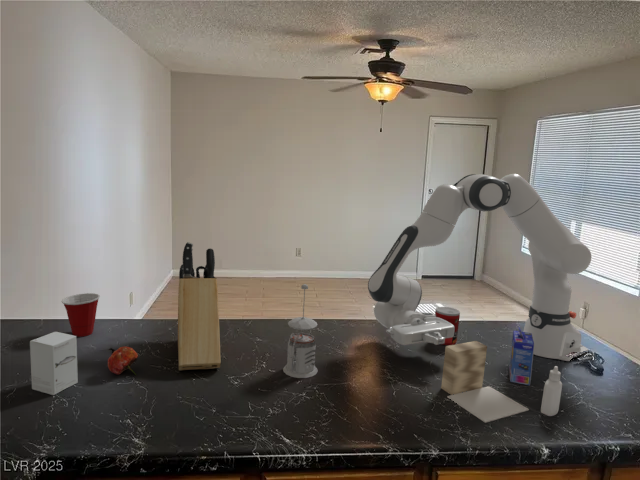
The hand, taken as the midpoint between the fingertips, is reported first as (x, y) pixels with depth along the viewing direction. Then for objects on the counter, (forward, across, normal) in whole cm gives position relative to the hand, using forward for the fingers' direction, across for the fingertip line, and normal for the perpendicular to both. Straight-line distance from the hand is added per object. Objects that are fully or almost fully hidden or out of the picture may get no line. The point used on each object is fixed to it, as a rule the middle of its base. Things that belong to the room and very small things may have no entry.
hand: (440, 341), depth 138 cm
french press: (-15, -37, +10) cm, 41 cm away
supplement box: (-29, -97, +9) cm, 102 cm away
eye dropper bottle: (+28, +12, +10) cm, 32 cm away
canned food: (-18, +19, +10) cm, 28 cm away
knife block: (-40, -60, +9) cm, 72 cm away
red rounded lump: (-31, -81, +9) cm, 87 cm away
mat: (+19, 0, +9) cm, 21 cm away
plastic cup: (-64, -90, +9) cm, 111 cm away
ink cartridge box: (+11, +21, +10) cm, 25 cm away
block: (+10, 0, +10) cm, 14 cm away
